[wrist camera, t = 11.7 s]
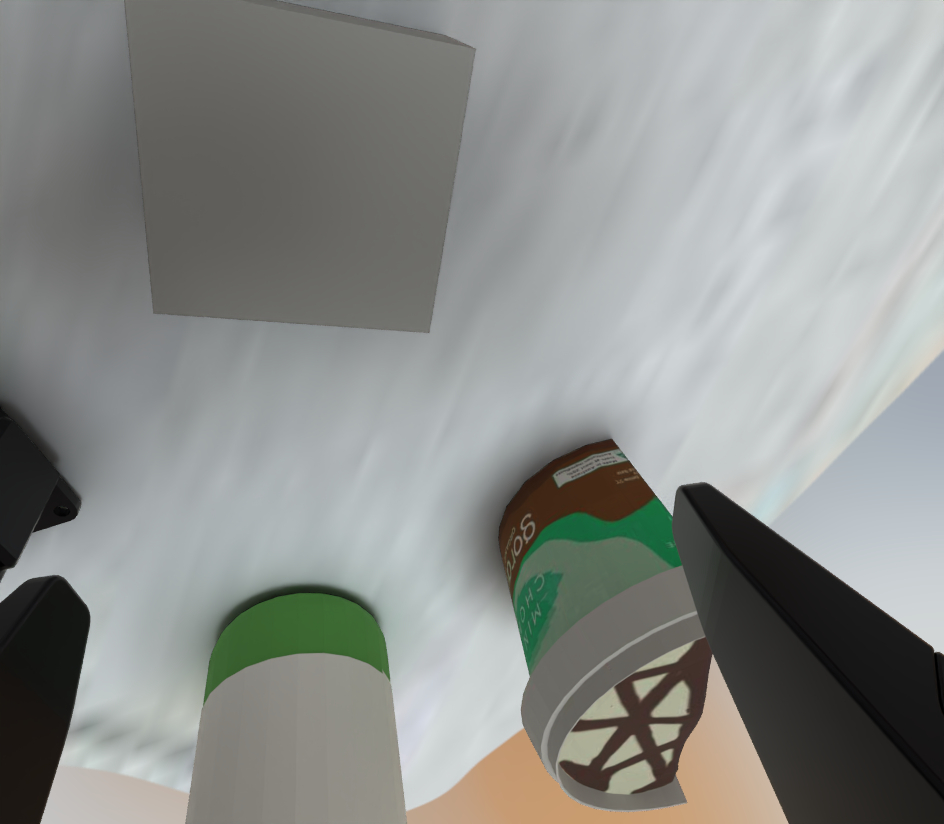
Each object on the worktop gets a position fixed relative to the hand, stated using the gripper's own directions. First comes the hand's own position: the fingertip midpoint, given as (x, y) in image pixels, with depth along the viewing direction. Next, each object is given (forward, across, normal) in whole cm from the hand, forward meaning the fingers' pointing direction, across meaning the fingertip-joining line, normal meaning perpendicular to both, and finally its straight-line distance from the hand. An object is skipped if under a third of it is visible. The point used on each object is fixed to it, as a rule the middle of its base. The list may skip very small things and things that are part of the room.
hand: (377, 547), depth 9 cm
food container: (+13, -4, +15) cm, 20 cm away
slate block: (+13, +2, -2) cm, 13 cm away
